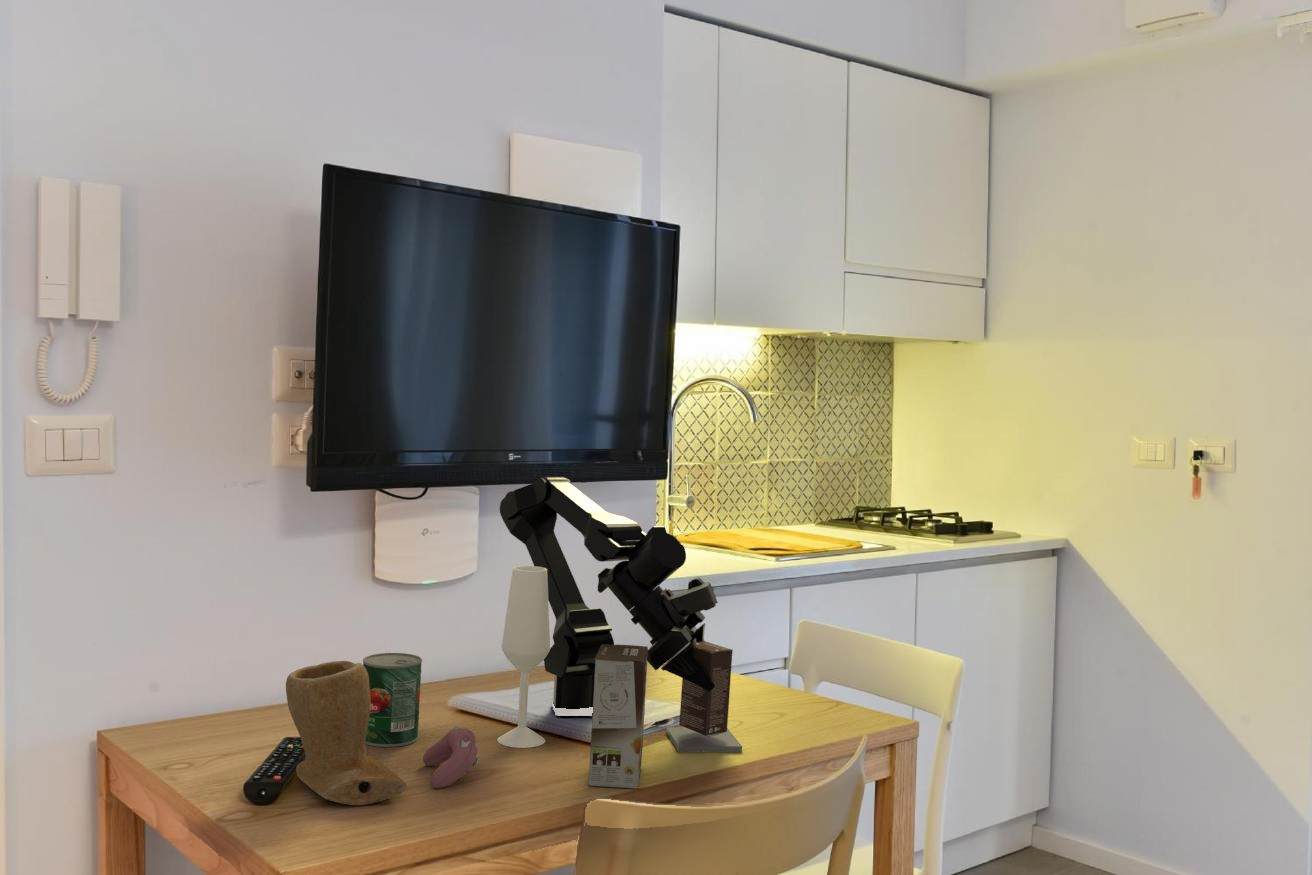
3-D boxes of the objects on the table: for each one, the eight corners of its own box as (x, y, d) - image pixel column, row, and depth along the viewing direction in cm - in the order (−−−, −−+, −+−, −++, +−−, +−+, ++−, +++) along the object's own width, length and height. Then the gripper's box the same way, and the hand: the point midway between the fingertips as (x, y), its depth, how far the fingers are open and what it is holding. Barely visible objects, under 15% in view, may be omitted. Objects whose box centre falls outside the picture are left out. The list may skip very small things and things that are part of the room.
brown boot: (270, 777, 138) (275, 655, 138) (366, 764, 145) (371, 647, 144) (305, 819, 126) (311, 685, 125) (408, 803, 132) (414, 675, 132)
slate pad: (678, 752, 157) (679, 746, 156) (666, 732, 165) (666, 727, 165) (742, 751, 158) (742, 746, 158) (726, 732, 167) (726, 727, 167)
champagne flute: (505, 749, 154) (514, 573, 153) (490, 734, 160) (499, 565, 159) (552, 745, 157) (561, 572, 156) (536, 731, 163) (544, 564, 162)
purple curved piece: (460, 801, 138) (488, 749, 138) (427, 786, 136) (455, 734, 137) (450, 774, 147) (477, 726, 148) (419, 760, 146) (446, 711, 147)
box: (729, 732, 161) (734, 648, 160) (705, 737, 158) (710, 652, 158) (700, 720, 166) (705, 639, 165) (677, 725, 163) (682, 642, 162)
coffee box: (639, 789, 141) (645, 661, 140) (587, 786, 141) (594, 658, 140) (642, 765, 150) (648, 645, 149) (593, 762, 150) (600, 642, 150)
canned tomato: (347, 741, 154) (350, 660, 153) (381, 726, 161) (385, 649, 160) (396, 751, 151) (400, 668, 150) (429, 735, 158) (433, 657, 158)
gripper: (676, 571, 152) (753, 661, 151) (694, 553, 171) (763, 633, 169) (615, 624, 154) (690, 713, 153) (639, 600, 172) (707, 680, 171)
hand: (715, 682), depth 161 cm, fingers open, 7 cm apart
